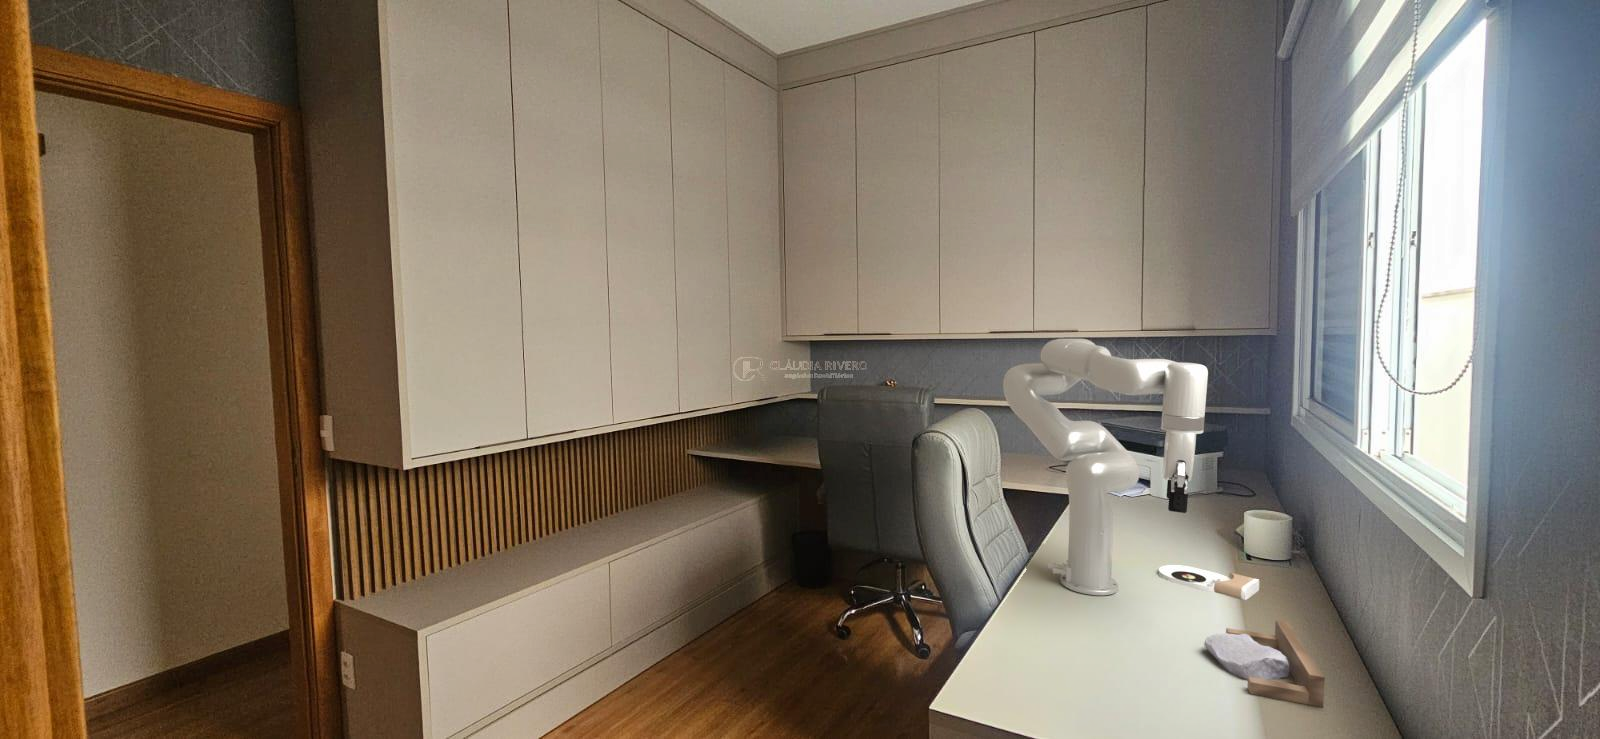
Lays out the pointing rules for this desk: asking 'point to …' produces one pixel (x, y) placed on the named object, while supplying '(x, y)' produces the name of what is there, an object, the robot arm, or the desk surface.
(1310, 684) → the walnut frame
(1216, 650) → the stone block
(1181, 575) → the record player
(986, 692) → the desk surface
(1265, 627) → the desk surface
